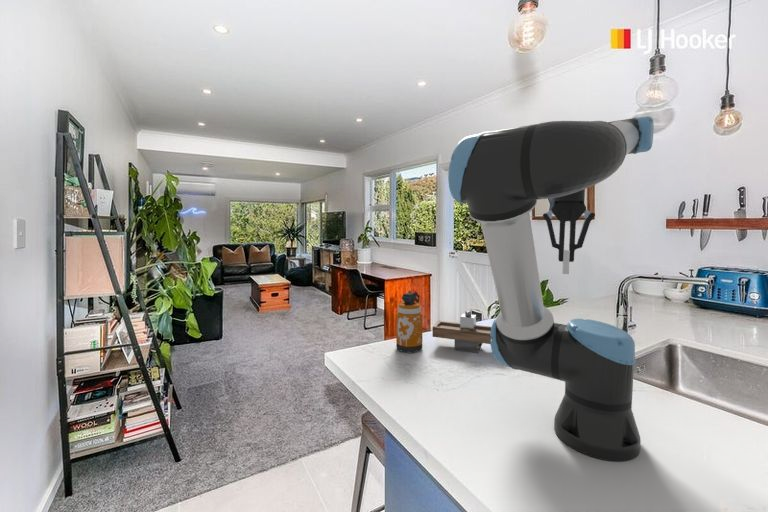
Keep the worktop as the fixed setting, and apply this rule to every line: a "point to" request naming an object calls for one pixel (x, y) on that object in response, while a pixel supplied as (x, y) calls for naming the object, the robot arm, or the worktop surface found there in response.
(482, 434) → the worktop surface
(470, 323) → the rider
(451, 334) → the beam
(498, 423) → the worktop surface
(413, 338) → the canister
